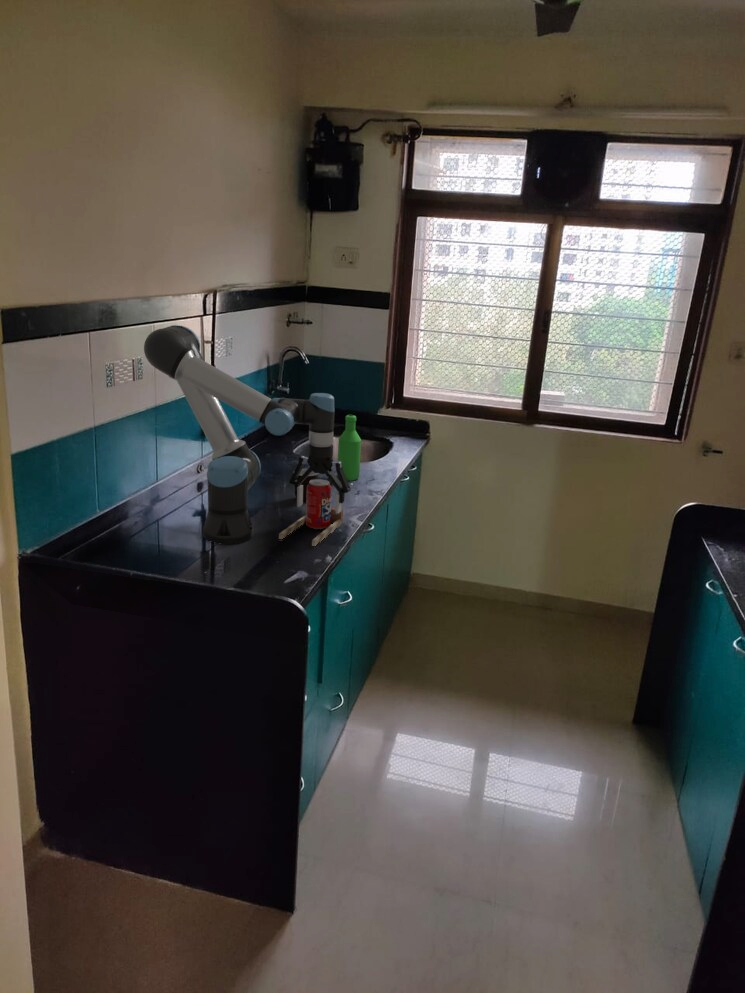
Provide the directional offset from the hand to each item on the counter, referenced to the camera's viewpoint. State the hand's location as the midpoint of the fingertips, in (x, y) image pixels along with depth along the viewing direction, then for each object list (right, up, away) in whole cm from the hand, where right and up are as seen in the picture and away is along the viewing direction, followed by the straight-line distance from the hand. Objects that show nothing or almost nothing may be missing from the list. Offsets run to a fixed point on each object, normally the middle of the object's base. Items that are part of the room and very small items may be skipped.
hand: (318, 509), depth 225 cm
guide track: (-2, -7, -3) cm, 8 cm away
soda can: (0, -6, +2) cm, 6 cm away
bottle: (+7, +11, +54) cm, 55 cm away
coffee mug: (-7, +3, +28) cm, 29 cm away
